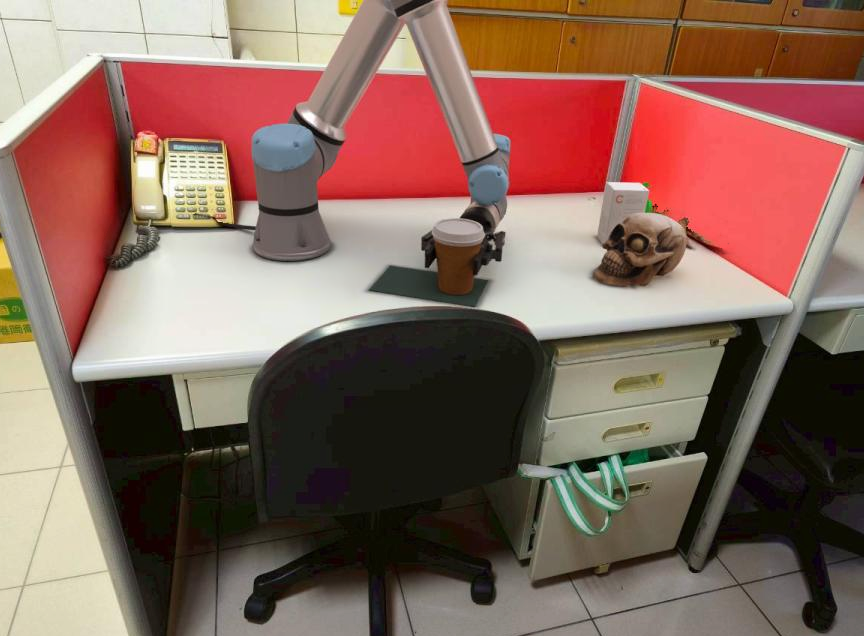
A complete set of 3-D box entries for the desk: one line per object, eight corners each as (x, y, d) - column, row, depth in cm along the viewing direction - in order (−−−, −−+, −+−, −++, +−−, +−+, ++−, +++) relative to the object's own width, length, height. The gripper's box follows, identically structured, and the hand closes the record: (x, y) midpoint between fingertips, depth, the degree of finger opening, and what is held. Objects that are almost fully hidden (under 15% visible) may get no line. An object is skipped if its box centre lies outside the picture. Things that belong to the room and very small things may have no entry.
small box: (629, 237, 148) (640, 182, 141) (638, 247, 142) (650, 190, 135) (595, 236, 147) (605, 181, 140) (603, 246, 141) (614, 189, 135)
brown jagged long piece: (656, 230, 154) (700, 256, 140) (660, 211, 152) (705, 236, 137) (689, 227, 157) (735, 252, 142) (693, 209, 154) (741, 232, 140)
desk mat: (368, 290, 115) (368, 289, 115) (390, 266, 125) (390, 265, 125) (475, 307, 112) (475, 306, 111) (488, 280, 122) (488, 279, 121)
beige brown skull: (588, 279, 124) (604, 213, 118) (606, 260, 139) (621, 199, 133) (667, 300, 119) (688, 232, 114) (677, 277, 134) (696, 216, 128)
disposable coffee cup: (475, 302, 112) (480, 238, 106) (424, 294, 114) (426, 231, 108) (484, 281, 120) (489, 221, 114) (436, 274, 122) (439, 214, 116)
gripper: (526, 248, 129) (507, 292, 110) (428, 234, 132) (394, 275, 113) (530, 212, 125) (511, 252, 106) (429, 199, 129) (394, 236, 110)
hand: (451, 264), depth 110 cm, fingers closed on disposable coffee cup, 8 cm apart
